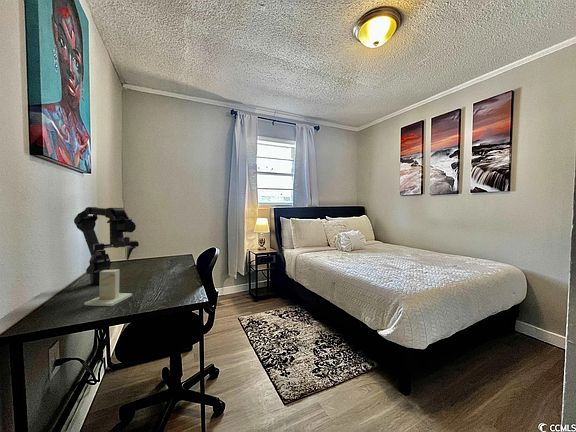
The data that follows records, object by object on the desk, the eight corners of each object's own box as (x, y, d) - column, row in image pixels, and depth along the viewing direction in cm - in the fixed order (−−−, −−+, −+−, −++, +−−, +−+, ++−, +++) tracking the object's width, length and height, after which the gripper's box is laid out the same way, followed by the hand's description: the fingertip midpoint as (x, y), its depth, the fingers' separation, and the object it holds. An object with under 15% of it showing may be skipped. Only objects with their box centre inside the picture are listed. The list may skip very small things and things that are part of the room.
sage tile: (84, 305, 100) (84, 302, 100) (107, 294, 112) (107, 292, 112) (111, 305, 99) (111, 303, 99) (132, 295, 111) (132, 293, 111)
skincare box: (98, 300, 103) (98, 272, 102) (104, 296, 107) (104, 269, 107) (115, 299, 104) (114, 271, 104) (120, 295, 108) (119, 268, 108)
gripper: (95, 234, 111) (96, 267, 111) (141, 231, 124) (141, 261, 125) (92, 232, 119) (93, 263, 119) (135, 230, 132) (136, 258, 132)
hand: (117, 261), depth 124 cm, fingers open, 9 cm apart
